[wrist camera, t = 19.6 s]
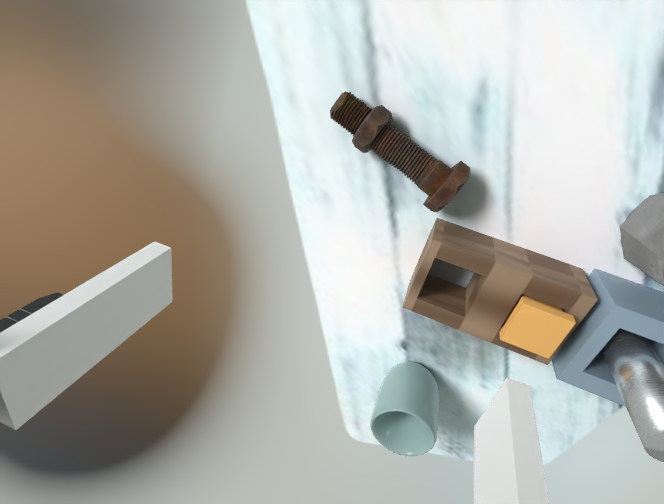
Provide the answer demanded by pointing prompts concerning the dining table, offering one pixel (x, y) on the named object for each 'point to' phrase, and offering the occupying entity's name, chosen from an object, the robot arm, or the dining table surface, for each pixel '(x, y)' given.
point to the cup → (407, 410)
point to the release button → (536, 326)
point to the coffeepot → (646, 237)
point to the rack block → (609, 332)
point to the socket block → (492, 284)
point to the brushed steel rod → (639, 386)
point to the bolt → (399, 150)
